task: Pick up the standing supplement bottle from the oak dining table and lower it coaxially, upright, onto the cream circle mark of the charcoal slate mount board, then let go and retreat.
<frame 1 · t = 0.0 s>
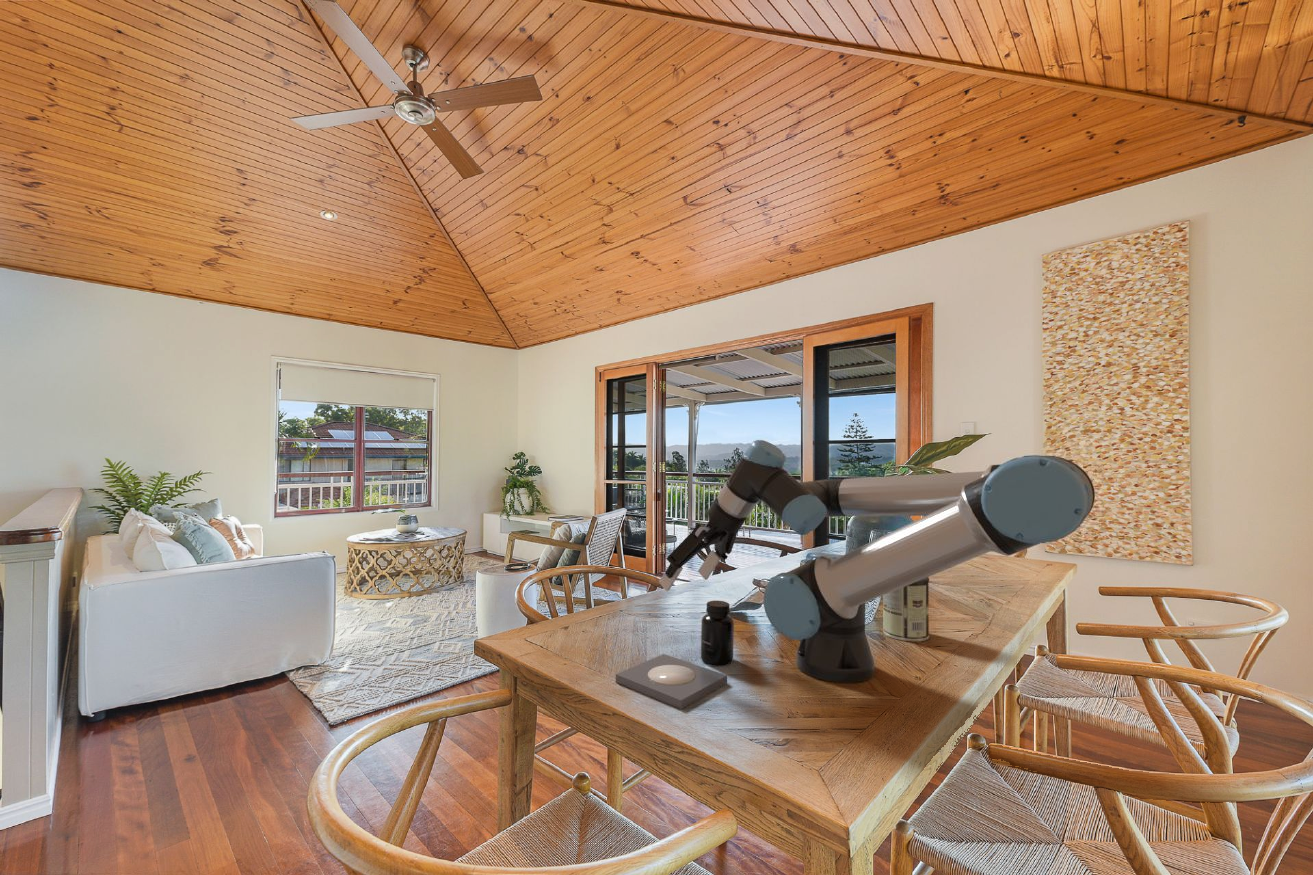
hand: (683, 580, 124), 15 cm above the table, tool tilted 35°, fingers open, 13 cm apart
mount board: (671, 682, 107), on the table
coffee can: (905, 635, 135), on the table
supplement bottle: (717, 661, 118), on the table
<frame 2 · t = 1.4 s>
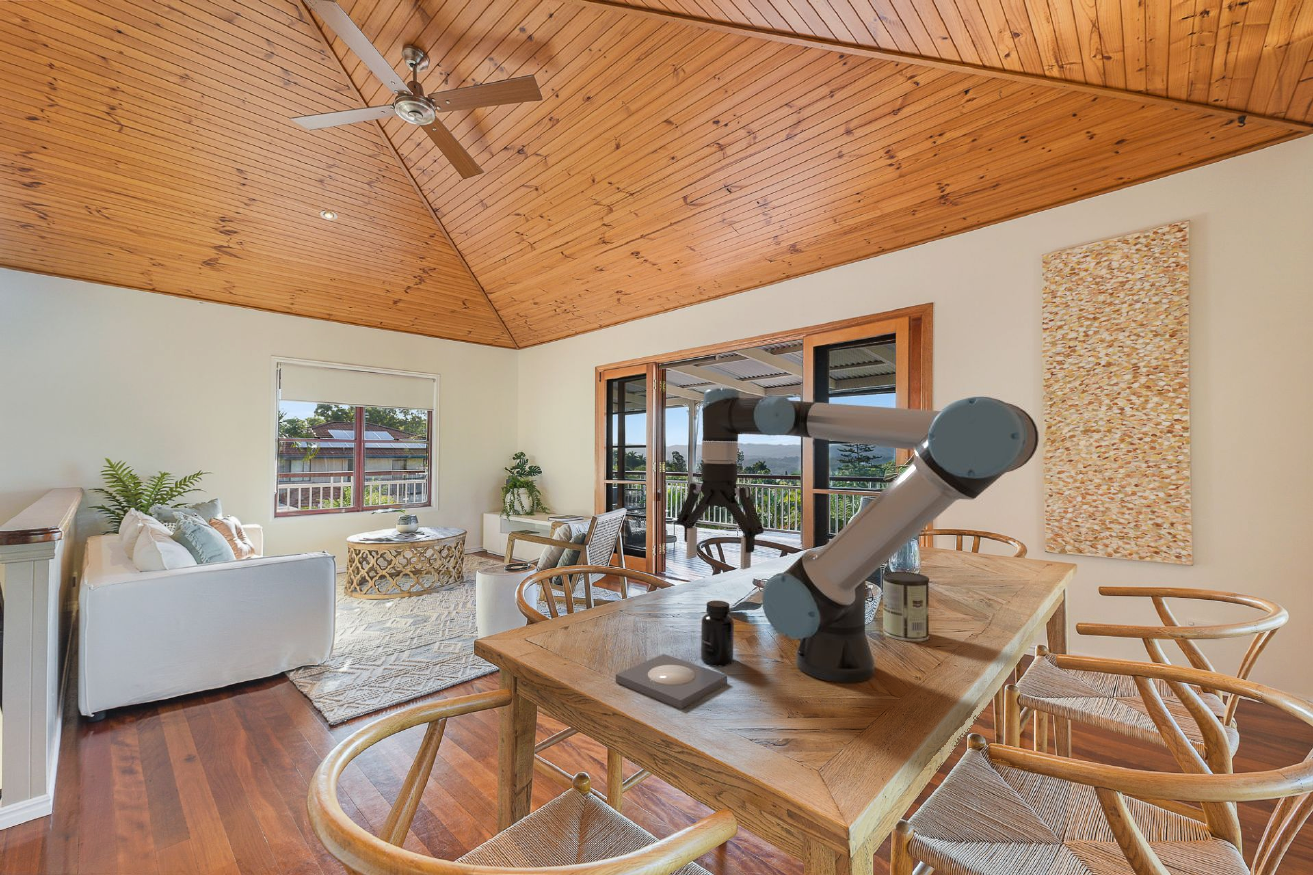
hand: (717, 562, 118), 20 cm above the table, tool pointing down, fingers open, 13 cm apart
nothing on the table moved.
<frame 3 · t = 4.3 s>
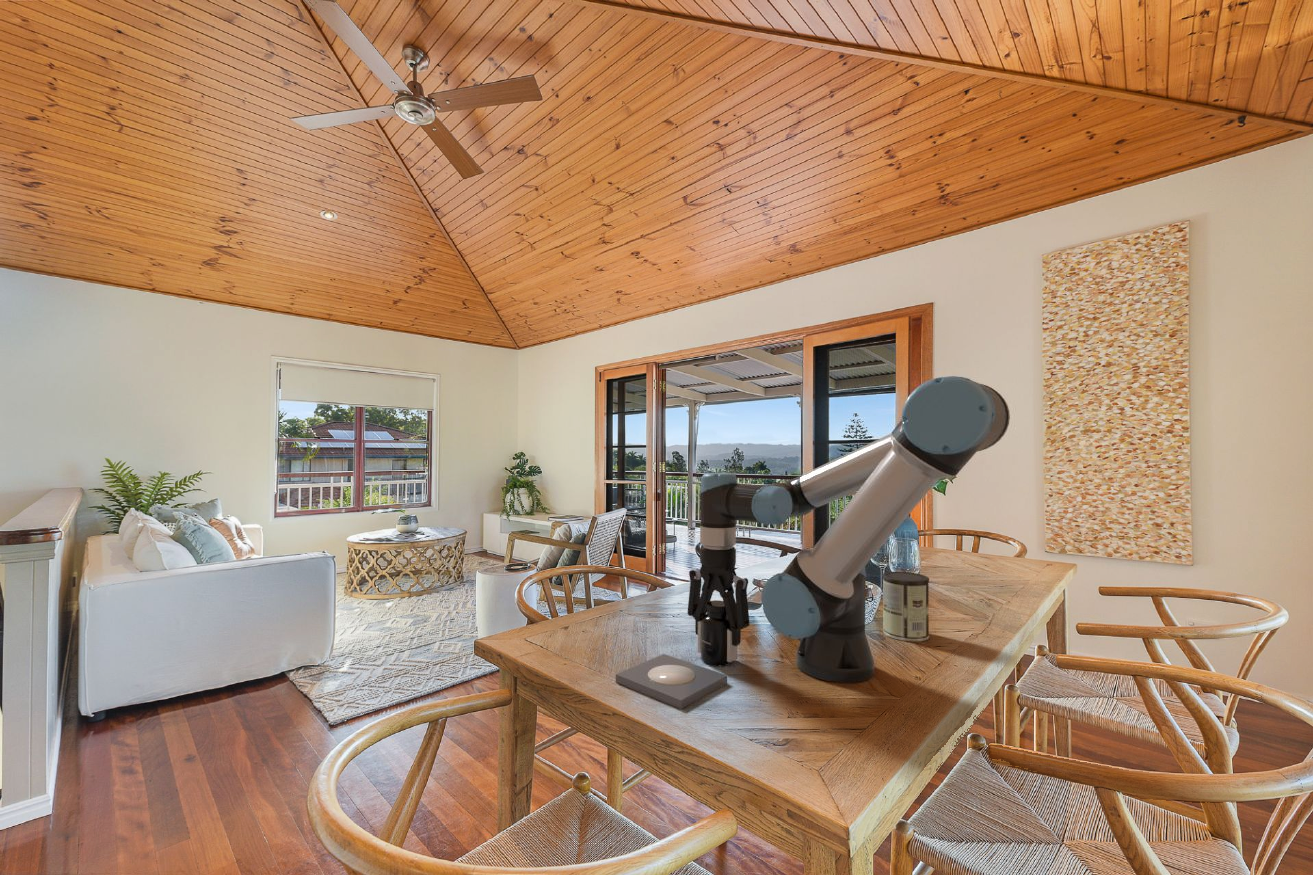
hand: (717, 655, 118), 1 cm above the table, tool pointing down, fingers closed on supplement bottle, 7 cm apart
supplement bottle: (717, 661, 118), on the table, touching gripper
everything else where it was.
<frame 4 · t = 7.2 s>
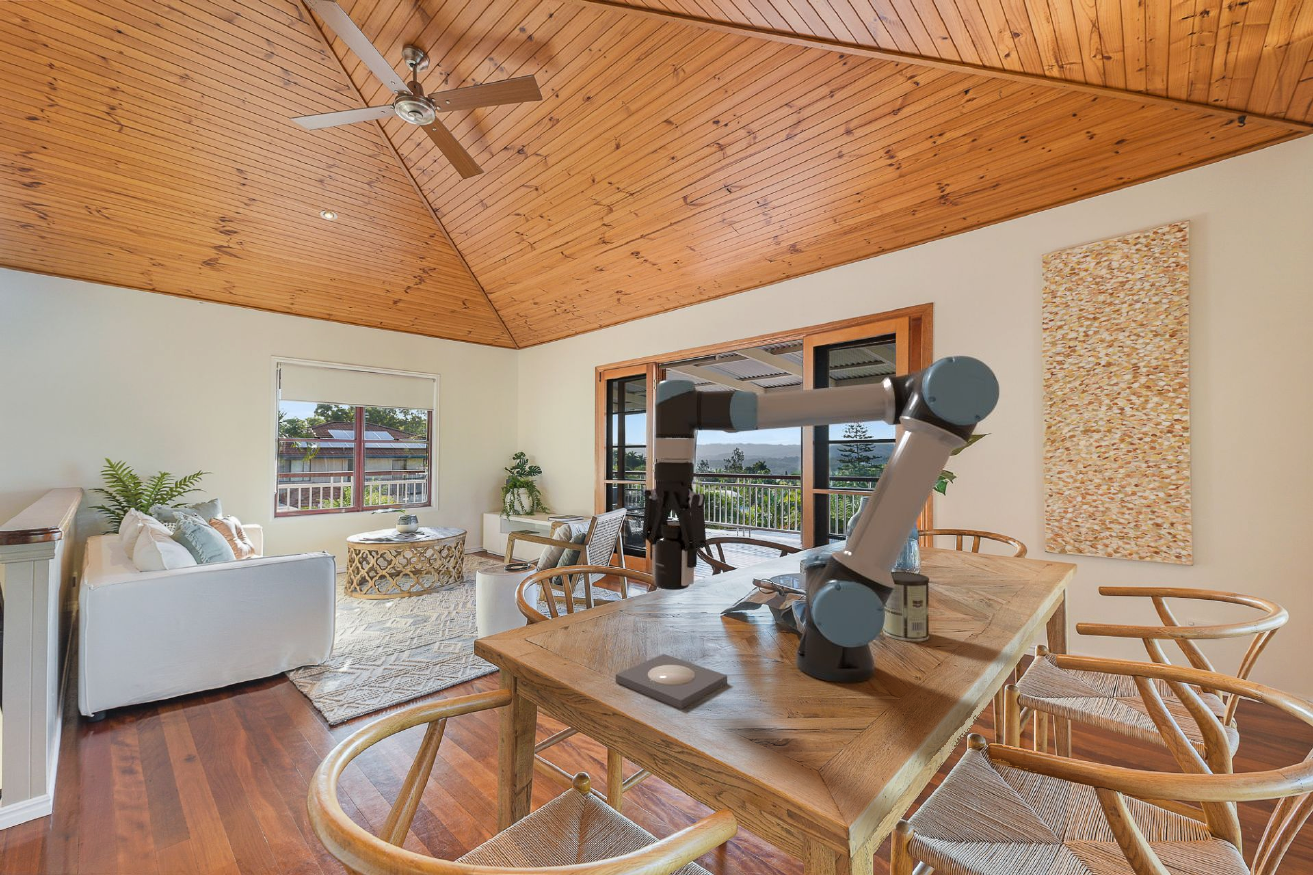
hand: (672, 580, 107), 19 cm above the table, tool pointing down, fingers closed on supplement bottle, 7 cm apart
supplement bottle: (672, 586, 107), point 18 cm above the table, touching gripper
everything else where it was.
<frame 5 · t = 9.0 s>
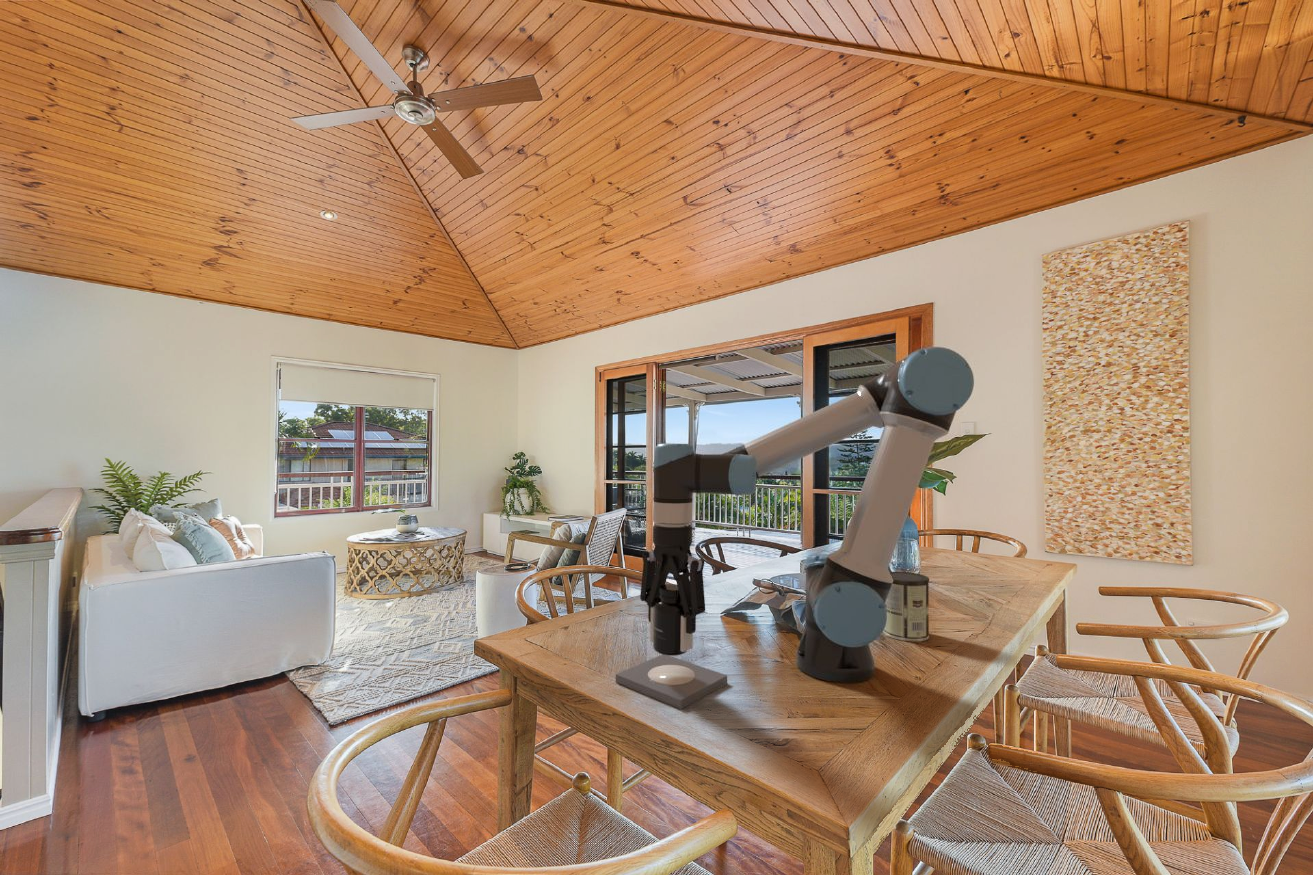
hand: (671, 644, 107), 7 cm above the table, tool pointing down, fingers closed on supplement bottle, 7 cm apart
supplement bottle: (671, 650, 107), point 6 cm above the table, touching gripper
everything else where it was.
when the fingers open (4 cm above the table, at t = 10.4 s): supplement bottle drops 1 cm, resting on mount board.
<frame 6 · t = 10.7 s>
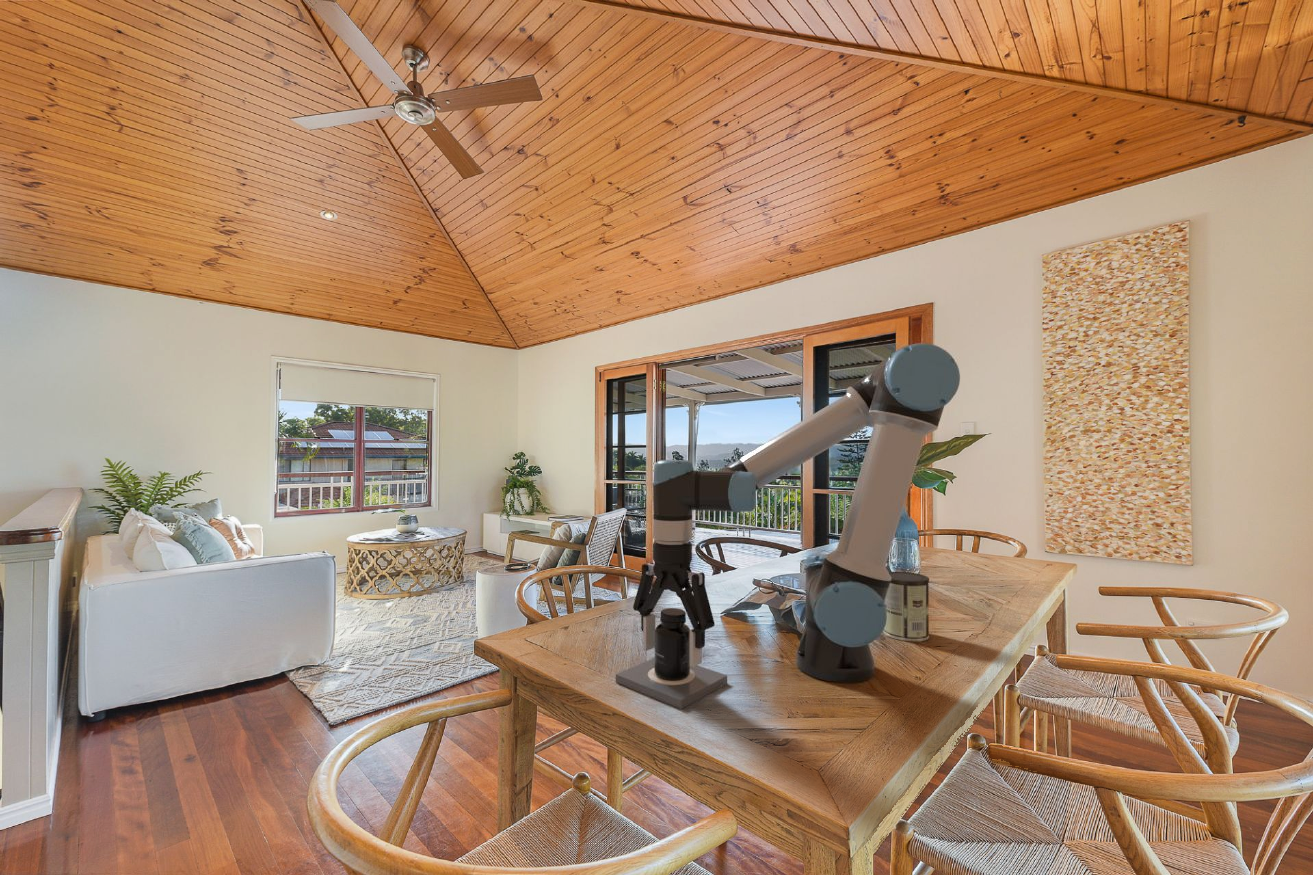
hand: (671, 656, 107), 5 cm above the table, tool pointing down, fingers open, 11 cm apart
supplement bottle: (672, 675, 106), point 1 cm above the table, touching mount board
everything else where it was.
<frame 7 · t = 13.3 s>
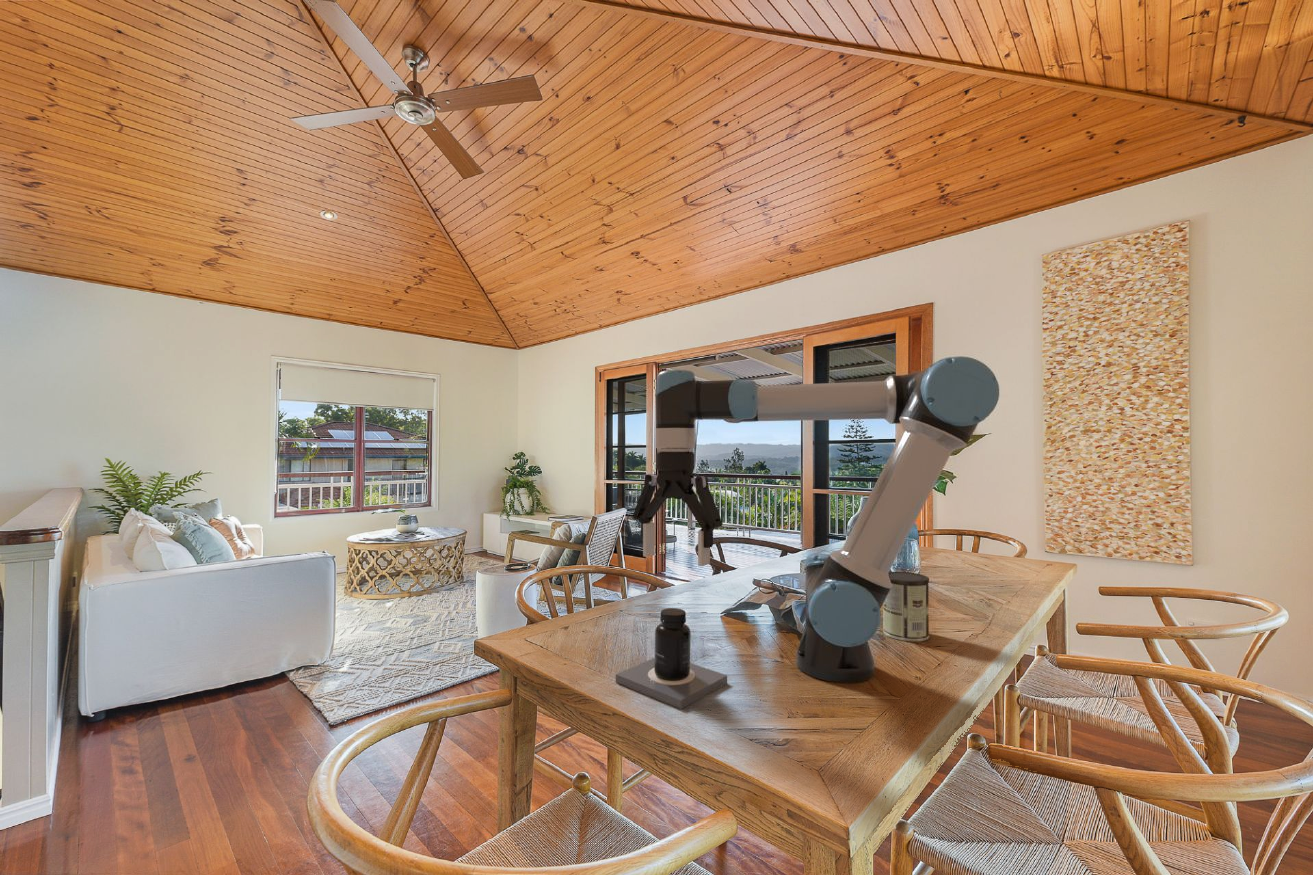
hand: (675, 560, 109), 23 cm above the table, tool pointing down, fingers open, 13 cm apart
nothing on the table moved.
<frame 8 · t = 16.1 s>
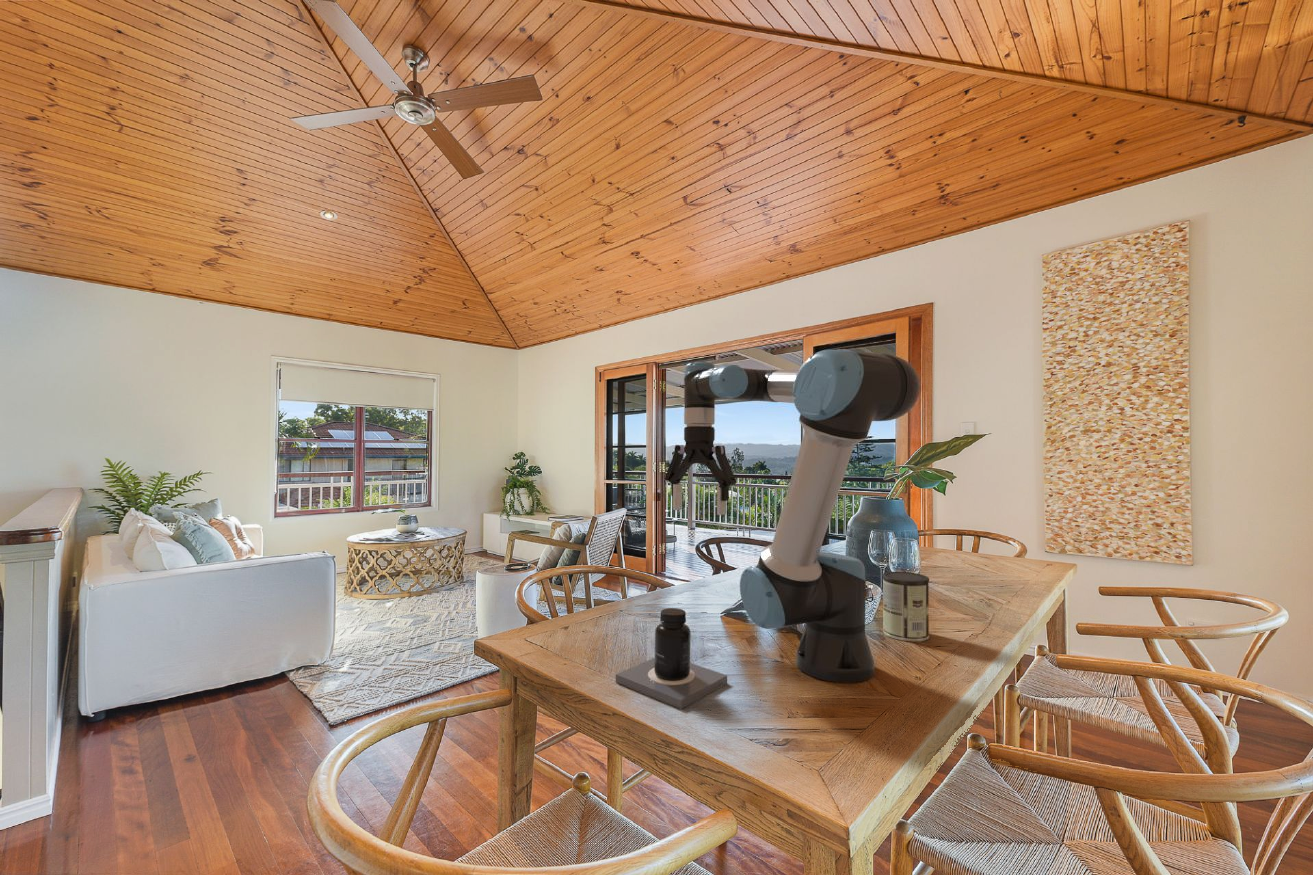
hand: (698, 512, 138), 29 cm above the table, tool pointing down, fingers open, 13 cm apart
nothing on the table moved.
at the end: supplement bottle 0.2 cm off-centre on the mount board, point 1.4 cm above the mount board's base; supplement bottle tilted 0°; the gripper is holding nothing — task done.
